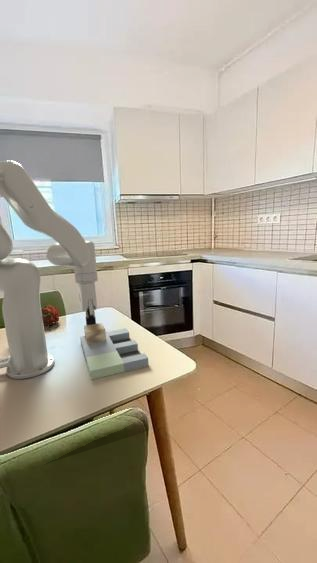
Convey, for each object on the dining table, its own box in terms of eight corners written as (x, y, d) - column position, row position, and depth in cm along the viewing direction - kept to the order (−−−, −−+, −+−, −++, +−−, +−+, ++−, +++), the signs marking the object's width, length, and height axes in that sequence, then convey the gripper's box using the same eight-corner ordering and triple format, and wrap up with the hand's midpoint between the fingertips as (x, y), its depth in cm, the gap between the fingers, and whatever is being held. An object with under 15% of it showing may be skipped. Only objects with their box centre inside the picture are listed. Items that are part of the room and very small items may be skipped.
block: (87, 343, 88) (86, 332, 87) (85, 336, 93) (83, 325, 92) (106, 340, 90) (105, 328, 89) (102, 333, 95) (101, 322, 94)
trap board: (90, 379, 72) (89, 371, 72) (81, 343, 94) (80, 336, 94) (148, 365, 78) (148, 357, 77) (126, 334, 100) (126, 328, 99)
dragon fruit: (50, 333, 109) (47, 327, 119) (66, 317, 111) (62, 313, 122) (33, 318, 106) (32, 314, 116) (50, 302, 108) (48, 299, 119)
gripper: (73, 274, 101) (78, 321, 105) (77, 282, 87) (83, 336, 91) (94, 272, 104) (98, 318, 108) (100, 279, 90) (105, 332, 94)
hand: (91, 326), depth 100 cm, fingers closed
